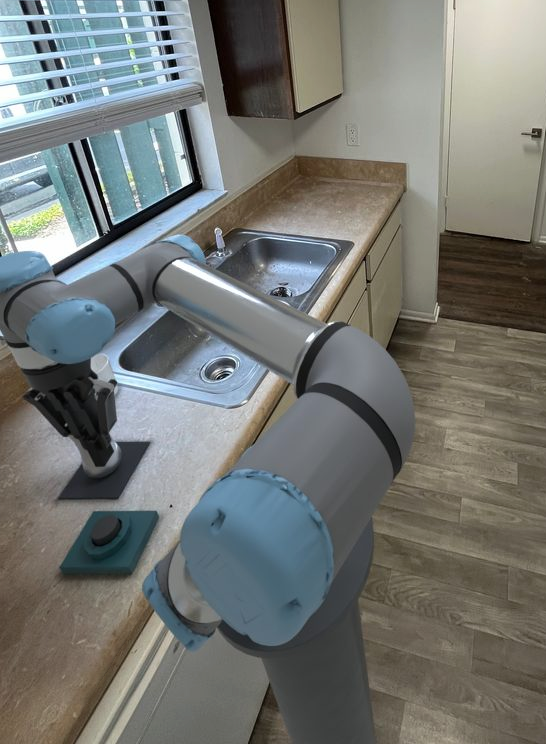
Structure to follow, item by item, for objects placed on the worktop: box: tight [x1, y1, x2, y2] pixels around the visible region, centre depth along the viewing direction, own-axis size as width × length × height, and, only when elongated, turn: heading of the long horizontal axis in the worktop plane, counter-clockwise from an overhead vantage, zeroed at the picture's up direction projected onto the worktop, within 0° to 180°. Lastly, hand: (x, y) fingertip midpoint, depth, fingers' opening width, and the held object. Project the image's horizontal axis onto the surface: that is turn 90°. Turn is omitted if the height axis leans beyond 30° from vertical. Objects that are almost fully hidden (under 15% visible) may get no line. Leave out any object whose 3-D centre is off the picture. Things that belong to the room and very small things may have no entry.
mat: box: [57, 441, 151, 500], centre depth 92 cm, size 12×12×1 cm
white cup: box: [91, 353, 119, 400], centre depth 107 cm, size 8×8×10 cm
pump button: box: [91, 514, 121, 546], centre depth 77 cm, size 4×4×2 cm
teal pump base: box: [58, 510, 160, 575], centre depth 78 cm, size 12×9×4 cm
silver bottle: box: [65, 423, 122, 478], centre depth 87 cm, size 6×7×20 cm
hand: (105, 458), depth 73 cm, fingers closed
